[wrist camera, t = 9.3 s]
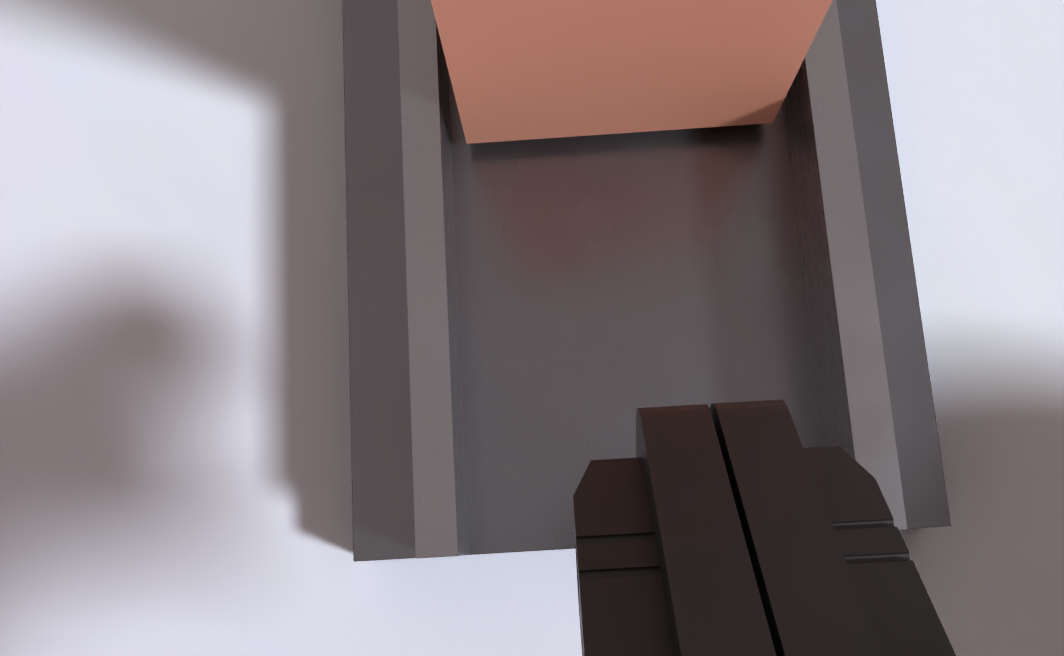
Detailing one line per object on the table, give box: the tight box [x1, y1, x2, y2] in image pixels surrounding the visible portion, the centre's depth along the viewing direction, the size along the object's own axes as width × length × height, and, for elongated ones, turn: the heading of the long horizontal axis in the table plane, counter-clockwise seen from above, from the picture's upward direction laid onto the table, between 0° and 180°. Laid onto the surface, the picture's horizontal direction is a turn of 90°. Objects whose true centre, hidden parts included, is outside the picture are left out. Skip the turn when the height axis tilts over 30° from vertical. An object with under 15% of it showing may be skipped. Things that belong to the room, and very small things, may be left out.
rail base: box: [342, 0, 951, 561], centre depth 19 cm, size 17×11×5 cm, turn 3°
